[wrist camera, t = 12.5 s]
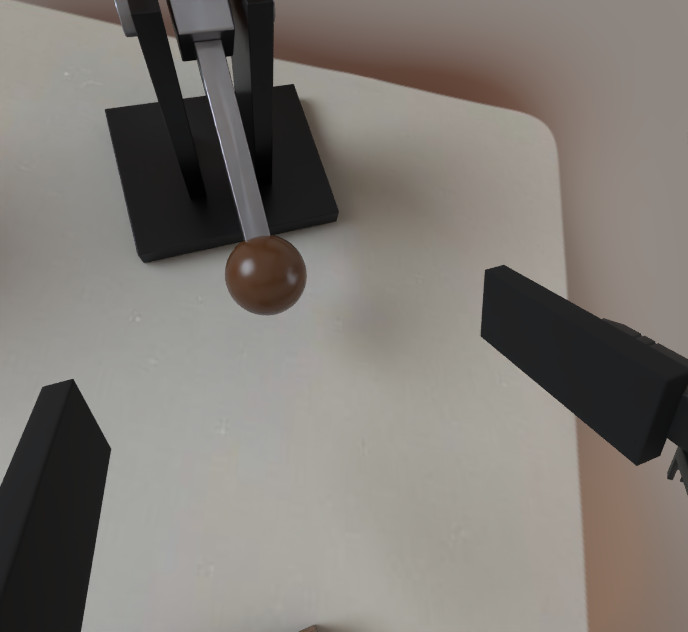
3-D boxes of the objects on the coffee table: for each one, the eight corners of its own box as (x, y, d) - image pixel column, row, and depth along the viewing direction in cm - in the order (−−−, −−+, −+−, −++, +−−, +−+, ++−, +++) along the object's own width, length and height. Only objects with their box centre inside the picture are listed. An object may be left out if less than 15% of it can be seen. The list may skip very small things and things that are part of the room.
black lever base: (336, 221, 28) (386, 51, 16) (143, 263, 25) (27, 94, 13) (292, 97, 30) (308, -135, 18) (111, 122, 28) (-14, -132, 15)
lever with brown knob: (306, 300, 22) (322, 307, 18) (235, 319, 21) (238, 329, 18) (232, -7, 19) (235, -65, 16) (148, 0, 18) (132, -60, 15)
